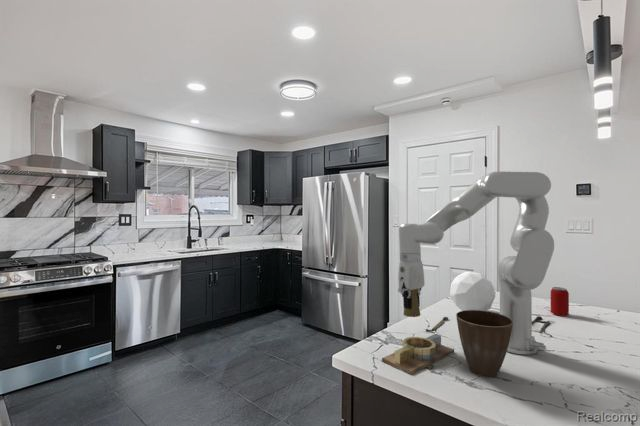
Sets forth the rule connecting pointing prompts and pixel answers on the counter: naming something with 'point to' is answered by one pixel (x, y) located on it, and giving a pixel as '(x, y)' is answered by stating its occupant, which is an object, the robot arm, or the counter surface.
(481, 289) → the ball
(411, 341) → the ring bracket
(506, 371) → the counter surface
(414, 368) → the board with octagonal collar
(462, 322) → the plant pot
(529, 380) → the counter surface
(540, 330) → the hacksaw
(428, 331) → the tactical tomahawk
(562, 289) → the beverage can
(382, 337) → the counter surface
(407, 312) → the cork
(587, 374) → the counter surface
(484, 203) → the robot arm
